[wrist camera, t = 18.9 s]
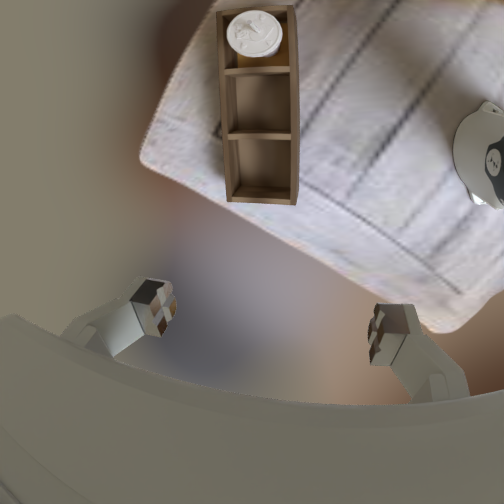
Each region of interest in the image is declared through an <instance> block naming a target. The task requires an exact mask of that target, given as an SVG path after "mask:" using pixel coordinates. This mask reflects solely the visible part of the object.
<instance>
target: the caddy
mask: <svg viewBox="0 0 504 504" xmlns="http://www.w3.org/2000/svg"><path fill="white" fill-rule="evenodd" d="M251 10H259V11H264V12H267V13H269V14H271V15H272V16H273V17H275V18H276V20H277V21H278V22H279V23H280V26H281V28H282V39H281V42H280V49H279V51H278V53H277V54H276V55H274V56H272V57H247V56H244V55H241V54H239V53H238V52H236V51H235V50H234V49H233V48H232V47H231V46H230V44H229V42H228V40H227V28H228V26H229V24H230V22H231V21H232V20H233V19H234V18H235V17H236V16H238V15H239V14H241V13H243V12H246V11H251ZM216 18H217V46H218V69H219V89H220V108H221V125H222V141H223V156H224V170H225V184H226V197H227V202H243V203H264V204H282V205H296V202H297V197H298V192H299V152H300V105H299V62H298V39H297V21H296V15H295V11H294V8H293V5H281V6H261V7H249V8H240V9H232V10H225V11H218V12H216Z"/></svg>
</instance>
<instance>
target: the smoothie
mask: <svg viewBox="0 0 504 504" xmlns="http://www.w3.org/2000/svg"><path fill="white" fill-rule="evenodd" d="M281 39H282V28H281V26H280V23H279V22H278V21H277V20H276V18H275V17H273V16H272V15H271V14H269V13H267V12H264V11H259V10H251V11H246V12H243V13H241V14H239V15H238V16H236V17H235V18H234V19H233V20H232V21H231V22H230V24H229V26H228V28H227V40H228V42H229V44H230V46H231V47H232V48H233V49H234V50H235V51H236V52H238V53H239V54H241V55H244V56H247V57H272V56H274V55H276V54H277V53H278V51H279V49H280V42H281Z"/></svg>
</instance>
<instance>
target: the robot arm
mask: <svg viewBox="0 0 504 504" xmlns="http://www.w3.org/2000/svg"><path fill="white" fill-rule="evenodd" d="M493 109H494V112H493ZM453 157H454V163H455V167H456V170H457V172H458V174H459V176H460V178H461V180H462V181H463V182H464V184H465V185H466V186H467V188H468V190H469V194H470V198H471V200H472V202H473V203H475V204H478V205H479V204H489V205H490V206H491V207H493V208H494V209H496V210H499V209H504V111H503V110H501V109H500V108H498V107H497V106H496V105H494V104H493V103H491V102H489V101H485V102H484V103H483V104H482V105H481V107H480V108H479V110H478V111H476V112H474V113H472V114H470V115H469V116H467V117H466V118H465V119H464V120H463V121H462V122H461V124H460V125H459V127H458V129H457V132H456V134H455V138H454V144H453ZM172 290H173V288H172V285H171V283H170V282H168V281H163V280H157V279H152V278H145V277H137V278H136V279H135V280H134V281H133V283H132V284H131V285H130V286H129V287H128V288H127V290H126V291H125V292H124V293H123V294H122V296H121V297H120V298H119V299H114V300H112V301H110V302H108V303H106V304H104V305H101V306H99V307H97V308H95V309H93V310H91V311H89V312H87V313H85V314H83V315H81V316H79V317H77V318H75V319H73V321H72V322H71V323H70V324H69V325H68V326H67V328H66V329H65V330H64V331H63V333H62V334H61V335H60V336H58V335H56V334H53V333H51V332H49V331H47V330H45V329H43V328H41V327H39V326H38V325H36V324H34V323H32V322H30V321H28V320H26V319H25V318H23V317H21V316H20V315H18V314H9V315H6V316H4V317H2V318H0V504H504V390H500V391H496V392H491V393H487V394H482V395H477V396H472V397H470V393H469V389H468V385H467V381H466V377H465V374H464V371H463V370H462V369H461V368H460V367H459V366H458V365H457V364H456V363H455V362H454V361H453V360H452V359H451V358H450V357H449V356H448V355H447V354H446V353H445V352H444V351H443V350H442V349H441V348H440V347H439V346H438V345H437V344H436V343H435V342H434V341H433V340H431V338H430V337H428V336H427V335H423V332H422V329H421V325H420V322H419V319H418V316H417V313H416V310H415V307H414V305H413V304H391V303H377V304H376V305H375V308H374V317H373V318H372V319H371V320H370V323H369V327H368V343H369V344H370V345H371V348H370V350H369V357H370V365H375V366H391V369H392V370H393V372H394V373H395V375H396V376H397V377H398V379H399V380H400V381H401V383H402V385H403V386H404V387H405V389H406V390H407V392H408V393H409V395H410V396H411V398H412V400H411V401H410V402H409V403H408V404H398V405H337V404H318V403H306V402H296V401H286V400H278V399H270V398H263V397H257V396H251V395H244V394H239V393H234V392H228V391H224V390H219V389H214V388H209V387H205V386H201V385H196V384H192V383H188V382H185V381H181V380H177V379H173V378H170V377H166V376H163V375H159V374H156V373H153V372H149V371H146V370H143V369H140V368H137V367H134V366H131V365H128V364H125V363H122V362H120V361H117V360H115V359H114V358H113V356H115V355H116V354H117V353H119V352H120V351H122V350H123V349H125V348H126V347H127V346H129V345H130V344H132V343H133V342H135V341H136V340H137V339H139V338H140V337H142V336H143V335H144V334H149V335H153V336H158V337H162V335H163V334H164V332H165V330H166V328H167V327H168V325H167V322H168V321H169V320H171V319H172V318H173V317H174V315H175V312H176V299H175V297H174V296H173V295H172V294H171V292H172Z"/></svg>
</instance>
